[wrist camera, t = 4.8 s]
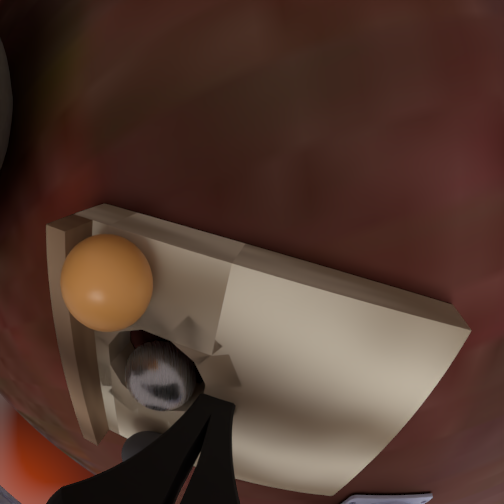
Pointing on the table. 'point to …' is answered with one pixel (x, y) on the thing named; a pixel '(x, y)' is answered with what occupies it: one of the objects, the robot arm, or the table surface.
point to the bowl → (5, 104)
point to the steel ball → (160, 376)
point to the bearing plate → (260, 349)
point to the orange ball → (106, 282)
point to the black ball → (138, 443)
